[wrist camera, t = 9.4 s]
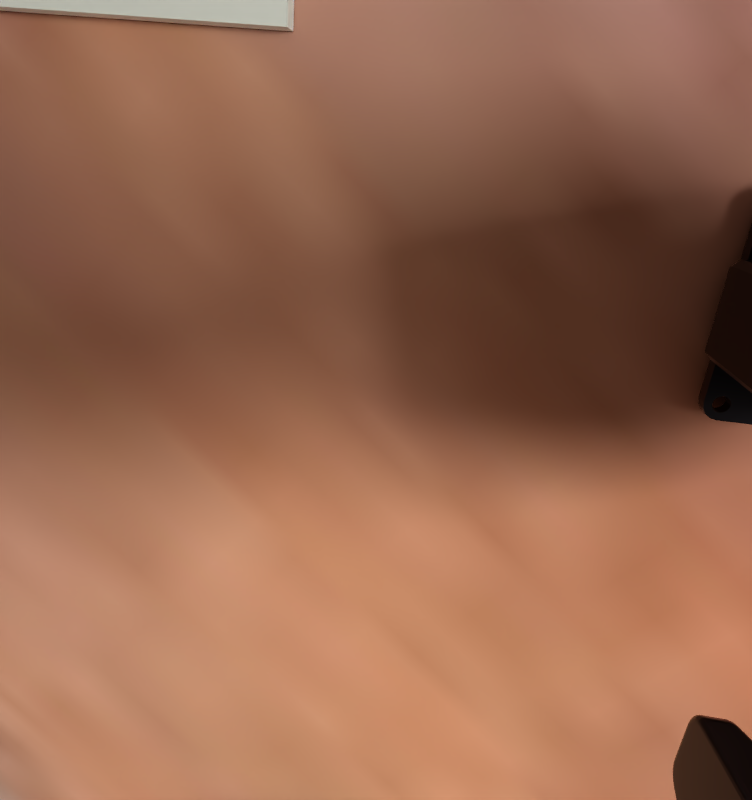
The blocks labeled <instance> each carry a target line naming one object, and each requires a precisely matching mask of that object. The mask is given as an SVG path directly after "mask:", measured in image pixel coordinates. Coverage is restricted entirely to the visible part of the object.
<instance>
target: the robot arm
mask: <svg viewBox="0 0 752 800" xmlns="http://www.w3.org/2000/svg"><path fill="white" fill-rule="evenodd" d="M705 352H706V354H707V355H708V357H709V358H710V362H709V366H708V369H707V372H706V376H705V379H704V382H703V385H702V389H701V392H700V395H699V402H698V404H699V406H700V409H701V410H702V411H703V412H704V413H705V414H706V415H707V416H708V417H709V418H711V419H715V420H720V421H728V422H736V423H744V424H752V225H751V228H750V231H749V235H748V238H747V241H746V244H745V248H744V251H743V254H742V257H741V260H739V261H738V262H736V263H735V264H734V265H732V266H731V267H730V269H729V272H728V275H727V279H726V282H725V285H724V289H723V292H722V295H721V299H720V302H719V305H718V309H717V312H716V316H715V319H714V322H713V326H712V329H711V332H710V336H709V339H708V342H707V346H706V349H705ZM722 396H725V402H724V404H723V405H721V406H719V407H712V403H713V401H714V400H715V399H716V398H718V397H722ZM673 782H674V789H675V794H676V799H677V800H752V740H751V739H750V738H749V737H748V736H747V735H746V734H745V733H744V732H743V731H742V730H741V729H740V728H739V727H738V726H737V725H735V724H734V723H733V722H731V721H729V720H726V719H720V718H714V717H708V716H703V715H696V716H694V717H693V718H692V719H691V720H690V722H689V723H688V726H687V729H686V731H685V734H684V737H683V739H682V742H681V744H680V747H679V750H678V752H677V755H676V758H675V761H674V765H673Z"/></svg>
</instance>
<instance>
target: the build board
mask: <svg viewBox="0 0 752 800" xmlns="http://www.w3.org/2000/svg"><path fill="white" fill-rule="evenodd" d="M0 11H14V12H28V13H42V14H56V15H70V16H84V17H98V18H112V19H126V20H140V21H154V22H168V23H182V24H196V25H210V26H224V27H238V28H252V29H266V30H280V31H293V24H294V0H0Z"/></svg>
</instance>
